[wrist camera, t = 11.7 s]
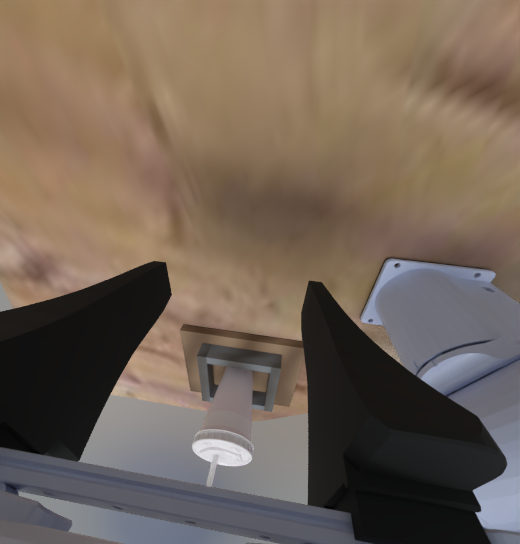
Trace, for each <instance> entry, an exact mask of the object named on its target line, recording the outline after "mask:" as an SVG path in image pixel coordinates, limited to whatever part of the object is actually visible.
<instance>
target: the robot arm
mask: <svg viewBox="0 0 520 544" xmlns="http://www.w3.org/2000/svg"><path fill="white" fill-rule="evenodd" d="M396 263H399V264H398V265H397V266H394V265H395V264H396ZM476 273H477V274H476ZM475 274H476V275H475ZM495 275H496V274H495V273H494V272H493V271H491V270H486V269H477V268H469V267H461V266H452V265H444V264H435V263H427V262H418V261H410V260H401V259H393V258H391V259H388V260H386V261H385V263H384V265H383V268H382V270H381V272H380V274H379V277H378V279H377V281H376V283H375V286H374V288H373V290H372V292H371V295H370V297H369V299H368V301H367V304H366V306H365V308H364V310H363V313H362V315H361V317H360V319H361V322H363V323H367V324H375V325H382V326H384V328H385V330H386V332H387V334H388V336H389V338H390V340H391V342H392V344H393V346H394V348H395V350H396V352H397V354H398V356H399V358H400V360H401V362H402V364H403V366H404V367H403V366H402V365H401V364H400V363H398V362H397V361H396V360H395V359H393V358H392V357H391V356H390V355H388V354H387V353H386V352H385V351H384V350H382V349H381V348H380V347H379V346H378V345H377V344H376V343H374V342H373V341H372V340H371V339H370V338H369V337H368V336H367V335H366V334H365V333H364V332H363V331H362V330H361V329H360V328H359V327H358V326H357V325H356V324H355V323H354V322H353V321H352V320H351V319H350V318H349V316H348V315H347V314H346V313H345V312H344V311H343V309H342V308H341V307H340V306H339V305H338V303H337V302H336V301H335V299H334V298H333V297H332V295H331V294H330V293H329V291H328V290H327V289H326V287H325V286H324V285H323V283H322V282H315V281H309V283H308V287H307V291H306V295H305V299H304V304H303V308H302V312H301V331H302V340H303V348H304V356H305V364H306V372H307V383H308V426H309V427H308V429H309V430H308V432H309V436H308V439H309V442H308V445H309V447H308V449H309V450H308V452H309V453H308V454H309V455H308V457H309V459H308V460H309V461H308V462H309V463H308V465H309V466H308V505H304V504H299V503H294V502H288V501H282V500H278V499H272V498H267V497H262V496H257V495H251V494H246V493H241V492H235V491H230V490H225V489H219V488H214V487H209V486H204V485H198V484H193V483H187V482H182V481H177V480H171V479H167V478H161V477H156V476H151V475H145V474H140V473H135V472H129V471H124V470H119V469H114V468H108V467H103V466H97V465H92V464H87V463H82V462H78V461H79V460H80V458H81V455H82V453H83V451H84V448H85V446H86V444H87V442H88V440H89V437H90V435H91V433H92V431H93V429H94V426H95V424H96V422H97V420H98V418H99V416H100V414H101V412H102V410H103V407H104V406H105V404H106V402H107V400H108V398H109V396H110V394H111V392H112V390H113V388H114V386H115V385H116V383H117V381H118V379H119V377H120V375H121V373H122V372H123V370H124V368H125V367H126V365H127V363H128V361H129V360H130V358H131V356H132V355H133V353H134V352H135V350H136V349H137V347H138V346H139V344H140V343H141V341H142V340H143V339H144V337H145V336H146V335H147V333H148V332H149V330H150V329H151V328H152V326H153V325H154V324H155V322H156V321H157V319H158V318H159V316H160V315H161V314H162V312H163V311H164V309H165V307H166V305H167V303H168V301H169V299H170V297H171V295H172V293H171V288H170V282H169V277H168V271H167V266H166V262H158V261H153V262H150V263H147V264H144V265H142V266H139V267H137V268H134V269H132V270H130V271H127V272H125V273H123V274H120V275H118V276H116V277H113V278H111V279H108V280H106V281H103V282H100V283H98V284H95V285H93V286H90V287H87V288H85V289H82V290H79V291H76V292H73V293H70V294H67V295H64V296H60V297H57V298H54V299H50V300H46V301H43V302H39V303H35V304H31V305H27V306H23V307H20V308H15V309H11V310H6V311H2V312H0V544H121V543H117V542H113V541H108V540H104V539H99V538H95V537H91V536H85V535H81V534H76V533H72V532H68V531H69V529H70V528H71V526H72V521H71V520H69V519H67V518H64V517H62V516H60V515H58V514H56V513H54V512H52V511H50V510H48V509H47V508H45V507H44V506H43V505H41V504H40V503H39V502H37V501H34V500H31V499H28V498H24V497H21V496H19V495H18V491H21V492H25V493H30V494H35V495H40V496H45V497H50V498H55V499H60V500H65V501H70V502H75V503H80V504H86V505H91V506H95V507H100V508H105V509H110V510H115V511H120V512H125V513H130V514H135V515H140V516H145V517H150V518H155V519H160V520H165V521H170V522H175V523H180V524H185V525H190V526H195V527H200V528H205V529H210V530H215V531H219V532H225V533H229V534H234V535H239V536H244V537H250V538H255V539H259V540H264V541H270V542H274V543H279V544H520V304H519V303H518V302H517V301H515V300H514V299H512V298H511V297H510V296H508V295H507V294H505V293H504V292H503V291H501V290H500V289H498V288H497V287H496V286H494V285H493V284H491V283H490V282H491V281H492V280H493V279H494V277H495ZM369 319H371V320H369ZM246 544H259V543H246Z"/></svg>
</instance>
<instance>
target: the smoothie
mask: <svg viewBox="0 0 520 544" xmlns="http://www.w3.org/2000/svg"><path fill="white" fill-rule="evenodd" d="M252 392H253V370H246V369H240V368H233V367H226V370H225V372H224V374H223V377H222V379H221V382H220V384H219V386H218V389H217V391H216V393H215V396H214V398H213V401H212V403H211V405H210V408H209V410H208V412H207V415H206V417H205V419H204V422H203V425H202V427H201V430H200V431H199V432H197V433H196V434H195V437H194V441H193V445H192V448H193V451H194V452H195V453H196V454H197V455H198V456H199V457H201V458H203V459H205V460H207V461H209V462H212V463H211V467H210V471H209V476H208V479H207V483H206V486H209V487H212V483H213V479H214V475H215V470H216V465H217V464H219V465H225V466H241V465H246V464H248V463H249V462H250V461H251V460H252V455H253V451H254V446H253V444H252V442H251V429H252Z"/></svg>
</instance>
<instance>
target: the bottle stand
mask: <svg viewBox="0 0 520 544" xmlns="http://www.w3.org/2000/svg"><path fill="white" fill-rule="evenodd" d="M180 333H181V339H182V344H183V350H184V356H185V362H186V367H187V373H188V379H189V384H190V390H191V391H195V392H201V393H202V400H203V401H209V402H212V401H213V398H214V396H215V393H216V391H217V389H218V386H219V384H220V382H221V379H222V377H223V374H224V372H225V370H226V367H233V368H240V369H246V370H253V392H252V409H258V410H264V411H270V412H272V410H273V405H274V404H275V405H281V406H287V407H289V406H290V403H291V400H292V396H293V393H294V389H295V386H296V382H297V379H298V375H299V372H300V369H301V365H302V362H303V358H304V348H303V342H301V341H294V340H287V339H280V338H273V337H266V336H259V335H252V334H245V333H238V332H231V331H225V330H218V329H211V328H204V327H197V326H190V325H183V326H182V328H181V329H180Z"/></svg>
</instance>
